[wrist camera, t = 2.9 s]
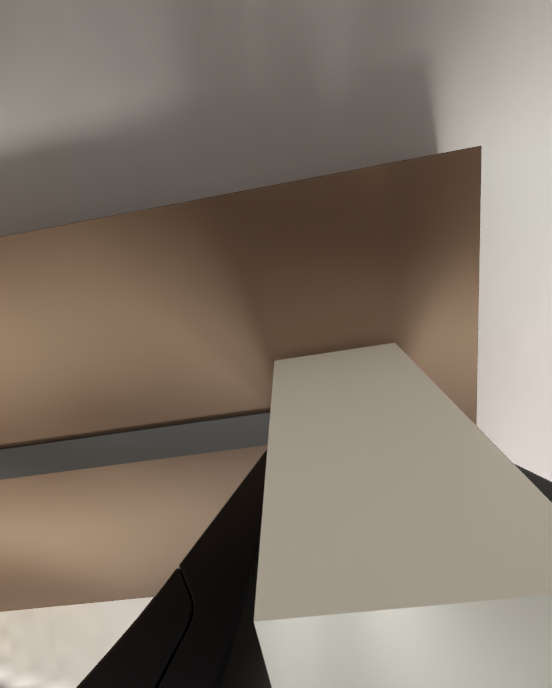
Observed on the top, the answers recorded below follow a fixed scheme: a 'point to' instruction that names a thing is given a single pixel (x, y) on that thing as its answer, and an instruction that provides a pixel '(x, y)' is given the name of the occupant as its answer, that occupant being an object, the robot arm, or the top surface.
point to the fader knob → (395, 536)
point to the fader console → (205, 354)
